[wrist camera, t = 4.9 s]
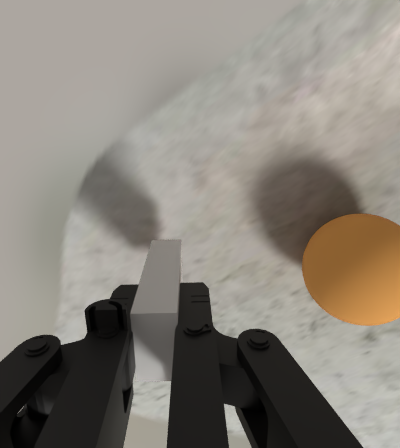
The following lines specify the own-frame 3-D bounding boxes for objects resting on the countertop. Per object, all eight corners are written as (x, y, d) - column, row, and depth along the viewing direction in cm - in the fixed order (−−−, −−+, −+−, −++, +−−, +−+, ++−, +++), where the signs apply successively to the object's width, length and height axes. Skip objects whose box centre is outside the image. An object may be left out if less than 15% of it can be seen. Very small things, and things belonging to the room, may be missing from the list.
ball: (293, 202, 18) (335, 237, 13) (390, 200, 18) (471, 235, 13) (285, 290, 20) (320, 352, 15) (374, 288, 20) (440, 349, 15)
